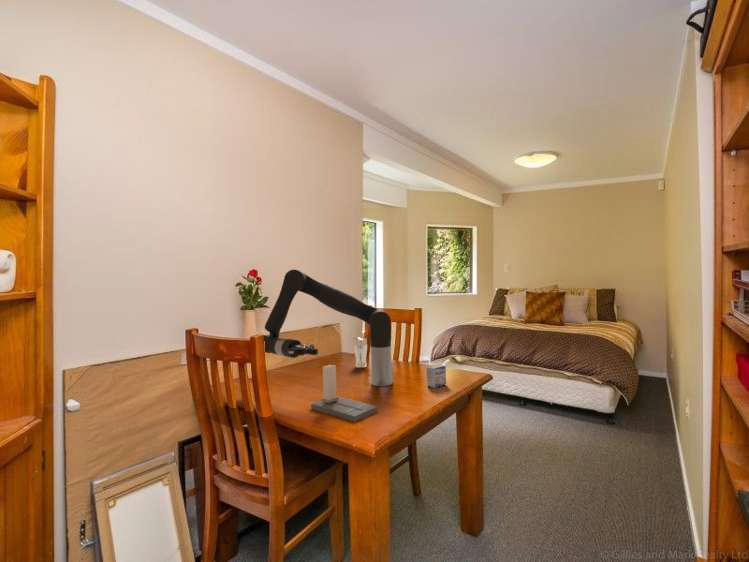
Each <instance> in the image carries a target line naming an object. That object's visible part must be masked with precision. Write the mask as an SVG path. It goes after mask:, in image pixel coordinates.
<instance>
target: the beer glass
mask: <svg viewBox="0 0 749 562" xmlns="http://www.w3.org/2000/svg"><path fill="white" fill-rule="evenodd" d="M353 341H354V342H353V343H354V344H353V348H354V349H353V350H354V354H355V355H354V356H355V368H357V369H358V368H359V369H363V368H367V366H368V365H367V364H368V363H367V354H368V353H367V352H368V344H367V343H368V340H367V338H366V337H356V338H354V339H353Z"/></svg>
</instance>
